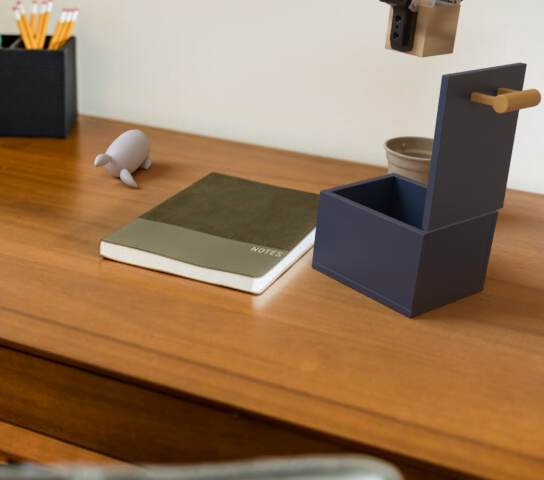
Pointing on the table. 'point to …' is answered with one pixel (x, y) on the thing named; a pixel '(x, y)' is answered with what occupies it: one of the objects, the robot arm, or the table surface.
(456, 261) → the chest
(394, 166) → the flower pot
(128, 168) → the grey animal figurine
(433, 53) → the block
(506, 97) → the lid
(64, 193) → the table surface
